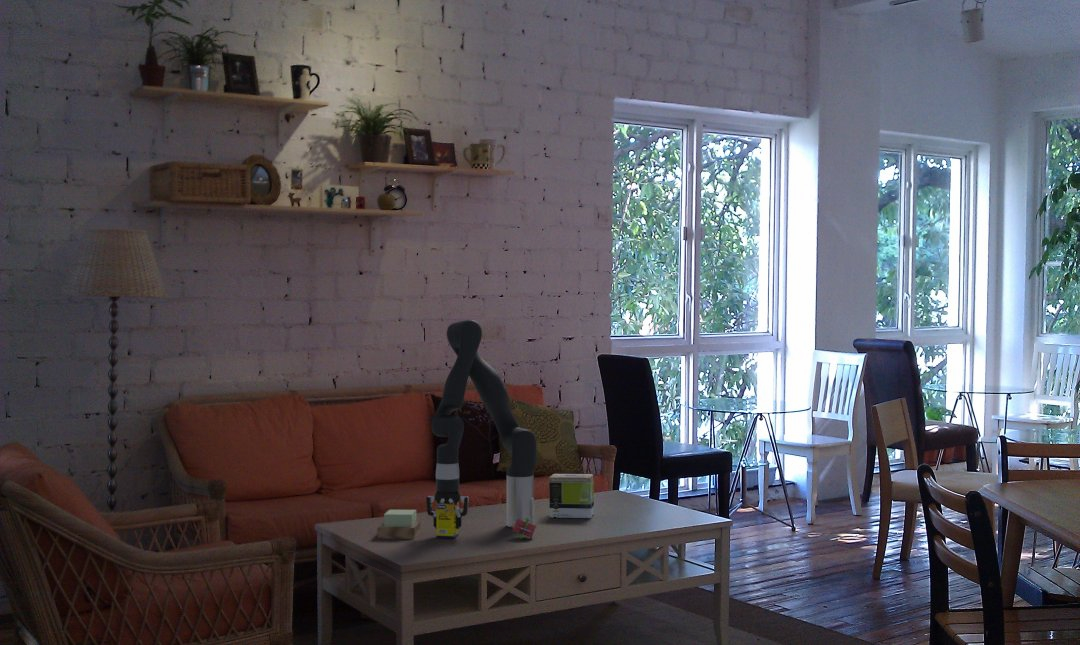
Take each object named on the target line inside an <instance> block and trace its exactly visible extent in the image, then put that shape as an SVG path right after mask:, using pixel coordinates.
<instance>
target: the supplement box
mask: <svg viewBox="0 0 1080 645" xmlns="http://www.w3.org/2000/svg"><path fill="white" fill-rule="evenodd" d="M459 504H460V503H459V502H458V503H457V504H438V503H436V508H437V529H436V538H437V539H455V538H456V537H457V536H459V529H460V528H459V529H457V515H456V511H455V505H456V507H459V508H460V506H459Z"/></svg>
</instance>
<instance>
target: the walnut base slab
mask: <svg viewBox="0 0 1080 645" xmlns="http://www.w3.org/2000/svg"><path fill="white" fill-rule="evenodd" d="M421 527H422V521H421V520H416V523H415V524H414V525H413V526H412V527H384V521H383V522H382V523H381V524H380V525H378V526H377V530H376V531H377V532H376V534H377V537H376V538H377V539H387V540H388V539H390V540H391V539H392V540H393V539H395V540H396V539H398V540H399V539H406V540H414V539H416V538H417V537H418V536H419V534H420V533H421V532H422V530H421V529H422V528H421Z"/></svg>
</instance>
